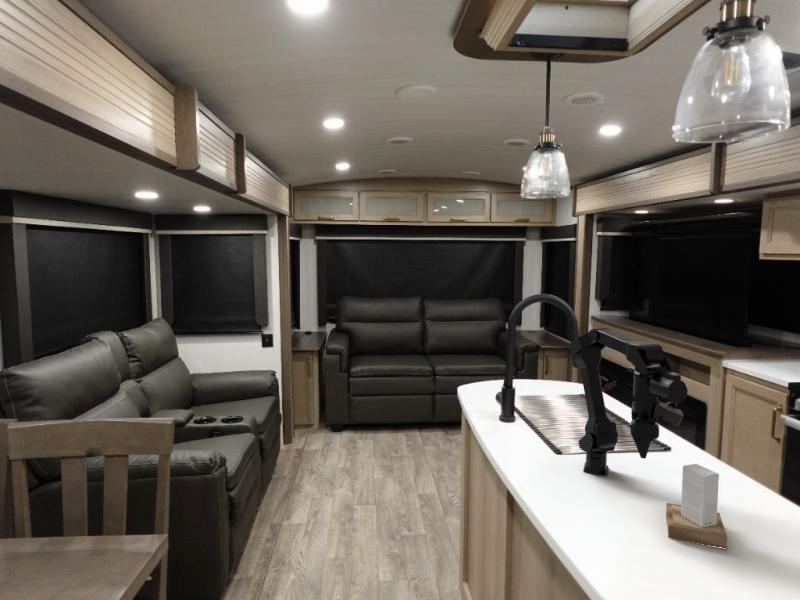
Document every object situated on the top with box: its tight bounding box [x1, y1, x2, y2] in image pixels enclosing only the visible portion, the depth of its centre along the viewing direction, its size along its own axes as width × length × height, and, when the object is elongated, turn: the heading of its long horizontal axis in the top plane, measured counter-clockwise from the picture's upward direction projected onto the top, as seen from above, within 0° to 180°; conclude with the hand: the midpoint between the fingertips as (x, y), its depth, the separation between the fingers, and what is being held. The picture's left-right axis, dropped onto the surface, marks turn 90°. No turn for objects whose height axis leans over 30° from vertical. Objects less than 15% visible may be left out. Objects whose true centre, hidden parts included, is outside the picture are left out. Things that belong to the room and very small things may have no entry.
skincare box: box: [680, 463, 720, 528], centre depth 112 cm, size 6×4×12 cm
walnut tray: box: [665, 502, 728, 549], centre depth 113 cm, size 11×11×3 cm
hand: (643, 451), depth 127 cm, fingers open, 9 cm apart
